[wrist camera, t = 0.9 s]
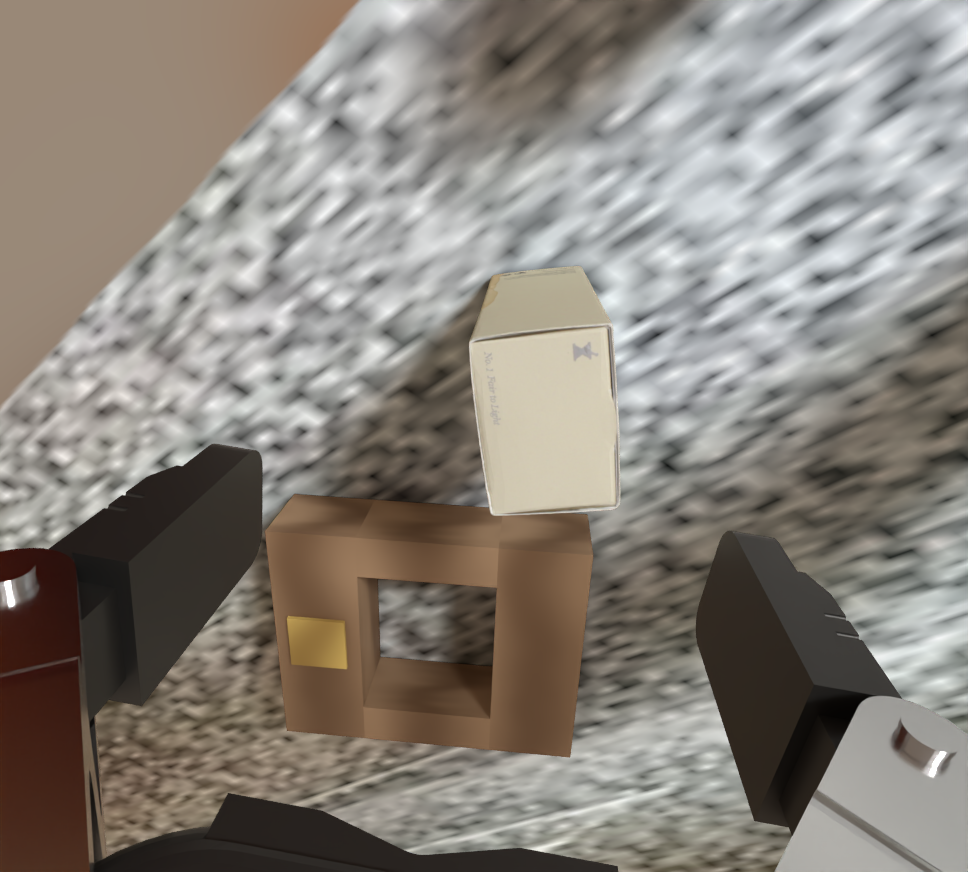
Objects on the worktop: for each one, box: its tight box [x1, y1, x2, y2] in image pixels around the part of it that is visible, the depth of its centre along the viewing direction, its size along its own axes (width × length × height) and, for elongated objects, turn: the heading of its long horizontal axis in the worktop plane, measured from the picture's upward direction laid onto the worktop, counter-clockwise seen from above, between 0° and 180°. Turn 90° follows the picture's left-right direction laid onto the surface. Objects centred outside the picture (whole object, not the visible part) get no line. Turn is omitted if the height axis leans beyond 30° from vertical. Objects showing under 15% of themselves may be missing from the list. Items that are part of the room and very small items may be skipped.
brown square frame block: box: [265, 494, 593, 757], centre depth 35 cm, size 16×13×4 cm
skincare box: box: [469, 266, 620, 516], centre depth 25 cm, size 6×4×12 cm
